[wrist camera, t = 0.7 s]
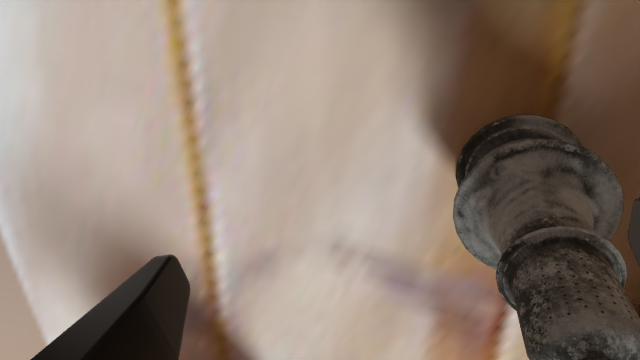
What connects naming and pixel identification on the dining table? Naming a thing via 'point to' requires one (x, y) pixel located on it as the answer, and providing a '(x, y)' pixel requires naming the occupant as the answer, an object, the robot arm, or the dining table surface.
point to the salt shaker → (548, 237)
